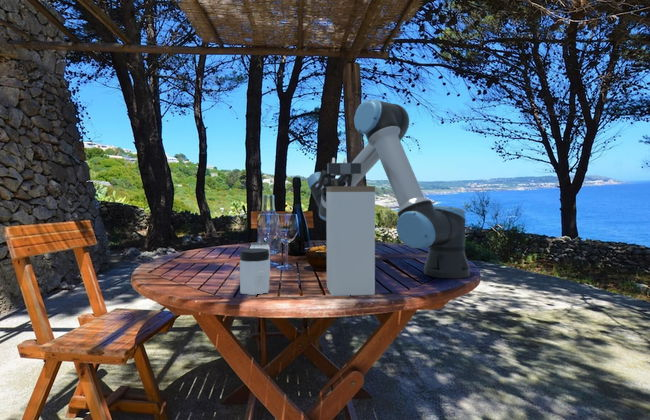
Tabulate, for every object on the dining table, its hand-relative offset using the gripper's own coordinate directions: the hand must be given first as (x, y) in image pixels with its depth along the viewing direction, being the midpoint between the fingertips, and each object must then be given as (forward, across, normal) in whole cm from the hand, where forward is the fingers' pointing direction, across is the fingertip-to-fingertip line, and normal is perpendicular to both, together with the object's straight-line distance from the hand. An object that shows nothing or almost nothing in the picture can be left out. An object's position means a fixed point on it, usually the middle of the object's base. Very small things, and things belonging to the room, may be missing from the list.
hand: (339, 161), depth 142 cm
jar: (-4, +27, -42) cm, 50 cm away
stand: (-3, 0, -43) cm, 43 cm away
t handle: (-1, 0, -4) cm, 5 cm away
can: (-18, +26, -34) cm, 47 cm away
